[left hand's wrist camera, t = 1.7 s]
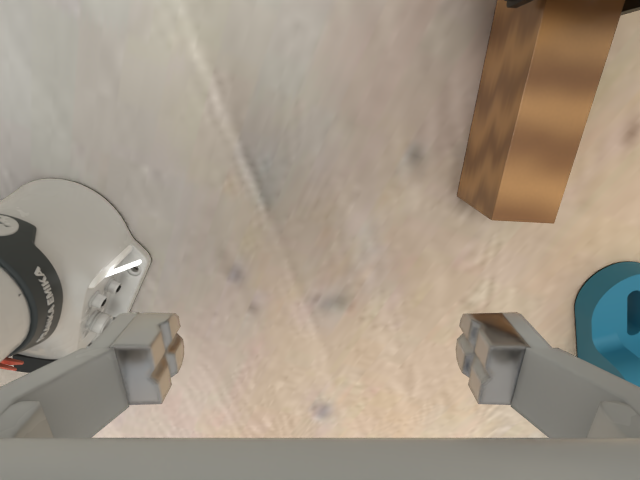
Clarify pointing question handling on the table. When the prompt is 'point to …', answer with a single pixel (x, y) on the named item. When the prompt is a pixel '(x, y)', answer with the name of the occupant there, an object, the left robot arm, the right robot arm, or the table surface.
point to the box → (534, 105)
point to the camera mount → (611, 321)
